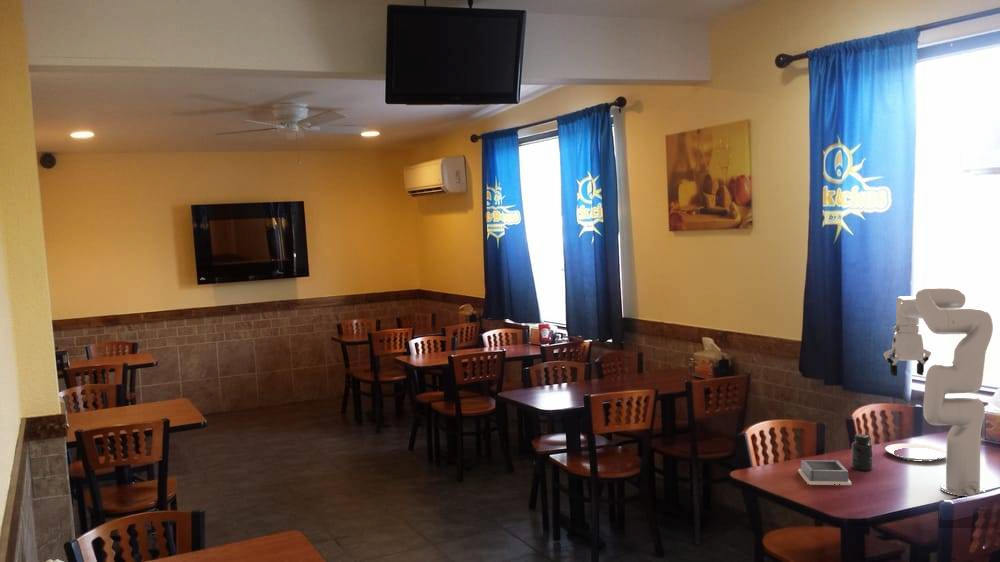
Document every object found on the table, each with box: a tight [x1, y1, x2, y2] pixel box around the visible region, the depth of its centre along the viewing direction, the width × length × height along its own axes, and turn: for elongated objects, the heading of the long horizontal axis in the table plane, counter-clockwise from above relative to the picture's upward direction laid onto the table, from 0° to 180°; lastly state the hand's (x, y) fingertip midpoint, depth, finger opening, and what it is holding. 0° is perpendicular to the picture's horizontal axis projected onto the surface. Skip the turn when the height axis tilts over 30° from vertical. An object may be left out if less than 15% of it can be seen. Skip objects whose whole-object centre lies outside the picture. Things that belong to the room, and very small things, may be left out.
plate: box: [884, 442, 946, 461], centre depth 301 cm, size 21×21×2 cm
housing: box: [797, 459, 852, 486], centre depth 279 cm, size 14×14×4 cm
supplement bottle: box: [851, 433, 874, 472], centre depth 288 cm, size 7×7×12 cm
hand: (907, 374), depth 302 cm, fingers open, 9 cm apart
